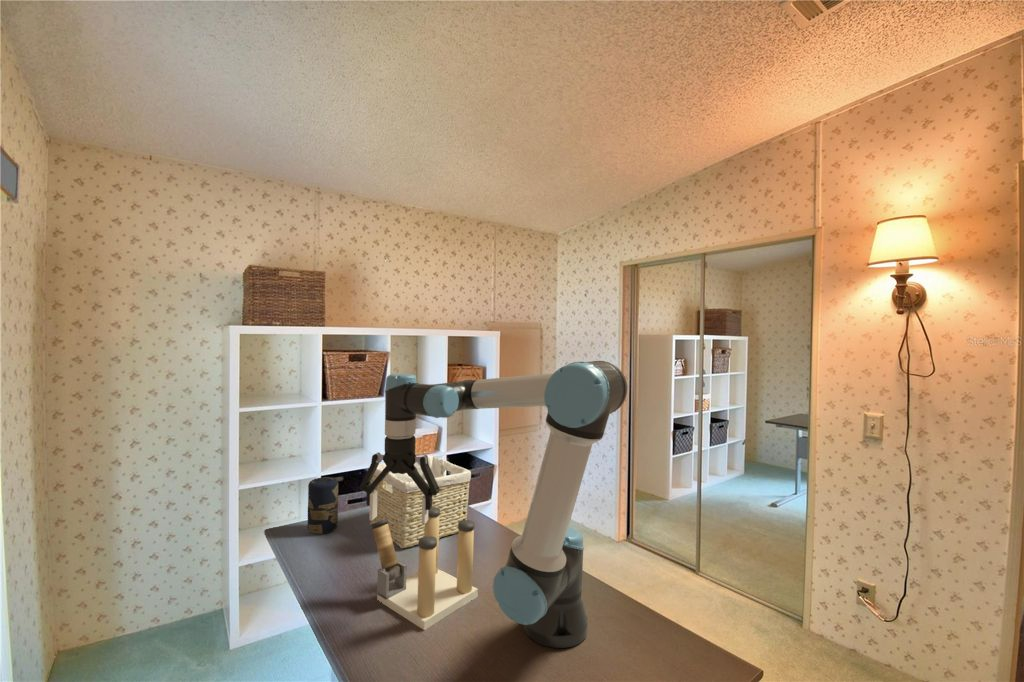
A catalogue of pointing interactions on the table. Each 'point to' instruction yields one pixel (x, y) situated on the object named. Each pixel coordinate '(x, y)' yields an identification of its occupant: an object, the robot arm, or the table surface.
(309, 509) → the canister
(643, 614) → the table surface
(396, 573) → the hinged leg
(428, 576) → the stool seat
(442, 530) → the basket
